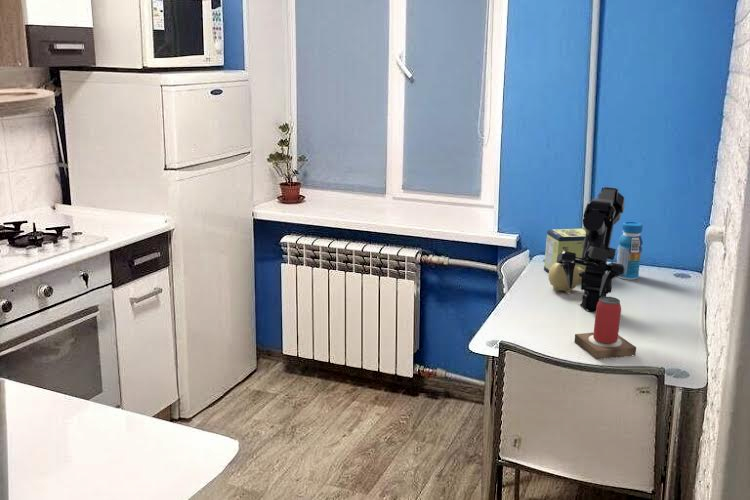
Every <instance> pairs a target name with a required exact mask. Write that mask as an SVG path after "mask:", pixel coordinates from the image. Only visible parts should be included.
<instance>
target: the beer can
mask: <svg viewBox="0 0 750 500" xmlns="http://www.w3.org/2000/svg"><path fill="white" fill-rule="evenodd" d="M621 313H622V305H621V300H620V299H619V298H617V297H615V296H614V297H613V296H606V297H601V298H599V301H598V303H597V306H596V311H595V315H594V326H593V333H594V334H593V338H594V339H595V340H596V341H598V342H600V343H604V344H612V343H615V342H617V340H618V335H619V333H620V331H619V330H620V323H621V316H622V315H621Z"/></svg>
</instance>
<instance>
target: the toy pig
mask: <svg viewBox="0 0 750 500" xmlns="http://www.w3.org/2000/svg"><path fill="white" fill-rule="evenodd" d="M583 271H584V270H583V269H582V268H580V267H577V266H576V265H575V268H574V273H573V283H572V288H571V289H569V286H568V282H567V278H566V274H565V271H564V269H563V267H561V266H560V263H557V262H556V263H555V264H553V265H552V267H551V268H550V270H549V273H548V276H547V277H548V281H549V283H550V285H551V286H552V288H553V290H555V291H556V290H559V291H563V292H566V294H571V291H572V290H574V289H575V288H576V287H577V286H578V285H580V284H581V280H582V273H583Z"/></svg>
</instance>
